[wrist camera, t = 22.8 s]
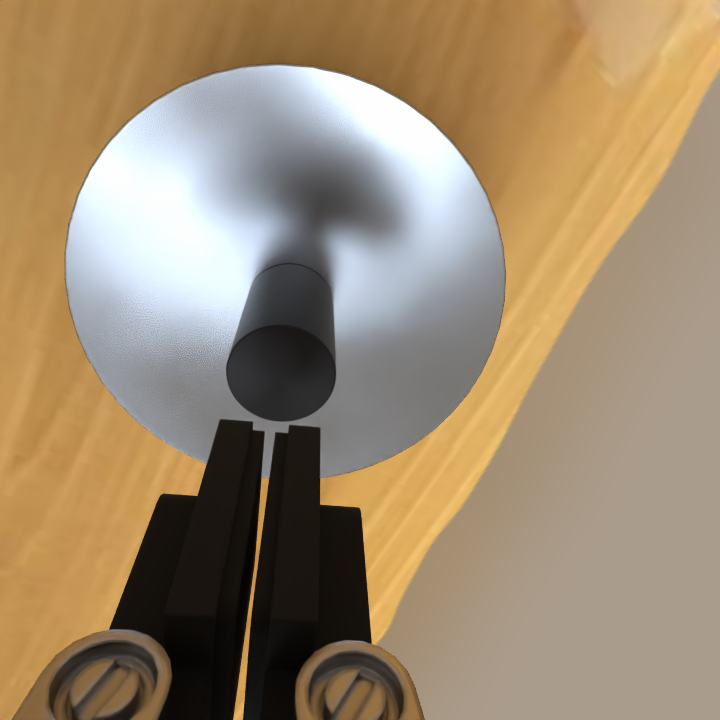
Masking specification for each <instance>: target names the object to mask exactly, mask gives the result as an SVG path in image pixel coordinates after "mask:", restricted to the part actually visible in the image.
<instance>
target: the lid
mask: <svg viewBox="0 0 720 720" xmlns="http://www.w3.org/2000/svg"><path fill="white" fill-rule="evenodd" d="M505 282H506V270H505V259H504V248H503V243H502V239H501V234H500V230H499V226H498V221H497V218H496V215H495V213H494V210H493V208H492V205H491V202H490V200H489V197H488V195H487V192H486V190H485V189H484V187H483V185H482V183H481V181H480V180H479V178H478V176H477V174H476V173H475V171H474V169H473V167H472V166H471V164H470V163H469V162H468V160H467V159H466V158H465V156H464V155H463V154H462V152H461V151H460V150H459V148H458V147H457V146H456V145H455V143H454V142H453V141H452V140H451V139H450V138H449V137H448V136H447V135H446V134H445V133H444V132H443V131H442V130H441V129H440V128H439V127H438V126H437V125H436V124H435V123H434V122H433V121H432V120H431V119H429V118H428V117H427V116H425V115H424V114H423V113H421V112H420V111H419V110H417V109H416V108H415V107H413V106H412V105H411V104H409V103H408V102H407V101H405V100H404V99H402V98H400V97H398V96H396V95H394V94H393V93H391V92H389V91H387V90H385V89H383V88H382V87H380V86H378V85H376V84H374V83H371V82H368V81H366V80H363V79H361V78H358V77H355V76H353V75H350V74H347V73H344V72H340V71H335V70H331V69H326V68H322V67H317V66H313V65H300V64H287V63H271V64H257V65H245V66H240V67H235V68H231V69H226V70H222V71H217V72H213V73H210V74H207V75H205V76H202V77H199V78H197V79H194V80H191V81H189V82H186V83H184V84H181V85H179V86H178V87H176V88H174V89H172V90H171V91H169V92H167V93H165V94H163V95H162V96H160V97H158V98H156V99H155V100H153V101H152V102H150V103H149V104H148V105H147V106H145V107H144V108H143V109H142V110H140V111H139V112H138V113H136V114H135V115H134V116H133V117H131V118H130V119H129V120H128V121H127V122H126V123H125V124H124V125H123V126H122V127H121V128H120V129H119V130H118V131H117V133H116V134H115V135H114V136H113V137H112V138H111V139H110V140H109V141H108V142H107V143H106V145H105V146H104V148H103V149H102V151H101V152H100V154H99V155H98V157H97V158H96V160H95V161H94V163H93V164H92V166H91V167H90V169H89V171H88V173H87V175H86V177H85V179H84V181H83V184H82V186H81V188H80V190H79V192H78V194H77V197H76V200H75V204H74V207H73V210H72V214H71V217H70V221H69V224H68V232H67V239H66V246H65V284H66V291H67V297H68V304H69V309H70V313H71V316H72V319H73V323H74V326H75V330H76V333H77V336H78V338H79V340H80V342H81V345H82V347H83V349H84V351H85V354H86V356H87V358H88V360H89V362H90V363H91V365H92V367H93V368H94V370H95V372H96V373H97V375H98V376H99V378H100V380H101V381H102V383H103V384H104V385H105V387H106V388H107V389H108V390H109V392H110V393H111V394H112V395H113V397H114V398H115V399H116V400H117V402H118V403H119V404H120V405H121V406H122V407H123V408H124V409H125V410H126V411H127V412H128V413H129V414H130V415H131V416H132V417H133V418H134V419H135V420H136V421H137V422H138V423H140V424H141V425H142V426H144V427H145V428H146V429H147V430H149V431H150V432H151V433H152V434H154V435H155V436H156V437H158V438H159V439H161V440H162V441H164V442H166V443H167V444H169V445H170V446H172V447H174V448H175V449H177V450H179V451H180V452H183V453H185V454H187V455H189V456H191V457H193V458H195V459H197V460H199V461H201V462H204V463H207V462H208V458H209V455H210V451H211V448H212V445H213V441H214V438H215V434H216V431H217V427H218V424H219V421H220V419H229V420H241V421H252V422H253V430H257V431H265V438H264V451H263V464H262V478H269V477H270V469H271V462H272V454H273V446H274V439H275V432H281V433H288V429H289V425H299V426H311V427H320V428H321V440H320V478H325V477H330V476H335V475H340V474H345V473H350V472H353V471H356V470H359V469H363V468H366V467H369V466H372V465H374V464H377V463H379V462H381V461H384V460H386V459H388V458H391V457H393V456H395V455H396V454H398V453H400V452H402V451H403V450H405V449H407V448H409V447H410V446H412V445H414V444H415V443H417V442H418V441H419V440H421V439H422V438H424V437H425V436H426V435H428V434H429V433H430V432H432V431H433V430H434V429H435V428H436V427H438V426H439V425H440V424H441V423H442V422H443V421H444V420H445V419H446V418H447V417H448V416H449V415H450V414H451V413H452V412H453V411H454V410H455V409H456V408H457V406H458V405H459V404H460V403H461V402H462V400H463V399H464V398H465V397H466V396H467V394H468V393H469V391H470V390H471V388H472V387H473V385H474V384H475V382H476V380H477V379H478V377H479V376H480V374H481V372H482V370H483V368H484V366H485V364H486V362H487V360H488V358H489V356H490V354H491V352H492V349H493V346H494V343H495V340H496V337H497V334H498V330H499V327H500V323H501V318H502V312H503V307H504V301H505Z"/></svg>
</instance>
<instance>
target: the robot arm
mask: <svg viewBox="0 0 720 720" xmlns="http://www.w3.org/2000/svg"><path fill="white" fill-rule="evenodd" d="M264 438H265V431H257V430H253V422H252V421H241V420H229V419H220V421H219V424H218V427H217V431H216V434H215V438H214V441H213V445H212V448H211V451H210V455H209V458H208V462H207V465H206V469H205V472H204V476H203V479H202V483H201V486H200V490H199V493H198V496H189V495H175V494H162V495H161V496H160V497H159V499H158V501H157V504H156V506H155V509H154V512H153V514H152V517H151V520H150V522H149V525H148V528H147V530H146V533H145V536H144V538H143V541H142V544H141V546H140V549H139V552H138V554H137V557H136V560H135V562H134V565H133V568H132V570H131V573H130V576H129V578H128V581H127V584H126V586H125V589H124V592H123V594H122V597H121V599H120V602H119V605H118V607H117V610H116V613H115V615H114V618H113V621H112V623H111V626H110V629H109V630H107V631H102V632H97V633H93V634H91V635H88V636H86V637H84V638H82V639H79V640H77V641H75V642H73V643H72V644H70V645H69V646H68V647H66V648H65V649H64V650H62V651H61V652H60V653H58V654H57V655H56V656H55V657H54V658H53V659H52V661H51V662H50V663H49V664H48V665H47V667H46V668H45V669H44V670H43V671H42V673H41V674H40V676H39V677H38V679H37V681H36V682H35V684H34V685H33V687H32V688H31V690H30V692H29V693H28V695H27V696H26V698H25V699H24V701H23V703H22V704H21V706H20V707H19V709H18V710H17V712H16V714H15V715H14V717H13V718H12V720H233V717H234V710H235V702H236V695H237V688H238V681H239V673H240V666H241V659H242V651H243V644H244V637H245V630H246V622H247V615H248V608H249V601H250V593H251V586H252V579H253V571H254V563H255V553H256V541H257V528H258V515H259V502H260V489H261V477H262V464H263V451H264ZM320 440H321V428H320V427H311V426H299V425H289V429H288V433H281V432H275V439H274V446H273V454H272V462H271V469H270V477H269V485H268V492H267V500H266V508H265V515H264V523H263V531H262V538H261V546H260V554H259V561H258V569H257V577H256V584H255V592H254V600H253V608H252V617H251V627H250V639H249V652H248V664H247V677H246V690H245V703H244V715H243V720H425V719H424V715H423V712H422V709H421V705H420V702H419V698H418V695H417V692H416V688H415V686H414V684H413V681H412V679H411V677H410V675H409V673H408V671H407V670H406V669H405V667H404V666H403V665H402V664H401V663H400V662H399V660H398V659H397V658H396V657H395V656H393V655H392V654H390V653H389V652H387V651H386V650H384V649H383V648H381V647H379V646H376V645H373V644H372V641H371V629H370V617H369V604H368V592H367V580H366V567H365V555H364V542H363V530H362V518H361V510H360V508H357V507H343V506H329V505H320Z"/></svg>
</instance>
